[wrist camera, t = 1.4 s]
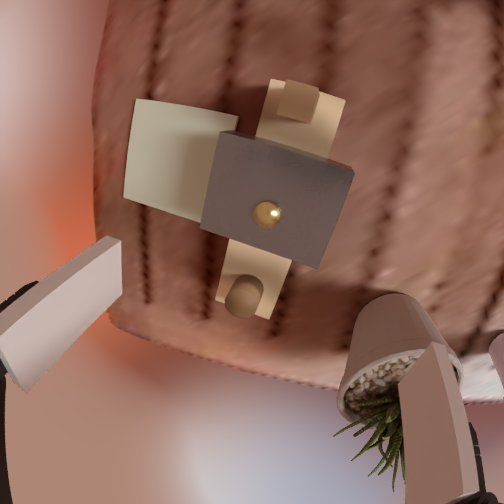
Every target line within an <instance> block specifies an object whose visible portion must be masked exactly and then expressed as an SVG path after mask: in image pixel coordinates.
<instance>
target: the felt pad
mask: <svg viewBox="0 0 504 504" xmlns="http://www.w3.org/2000/svg"><path fill="white" fill-rule="evenodd" d="M238 120H239V116H235V115H231V114H227V113H222V112H217V111H213V110H208V109H203V108H197V107H192V106H186V105H180V104H174V103H168V102H161V101H153V100H146V99H136V103H135V108H134V114H133V120H132V126H131V133H130V139H129V147H128V155H127V163H126V173H125V183H124V196H123V197H124V198H127V199H130V200H133V201H136V202H139V203H142V204H145V205H148V206H151V207H154V208H157V209H160V210H163V211H166V212H169V213H172V214H175V215H178V216H181V217H184V218H187V219H190V220H193V221H196V222H199V223H201V217H202V212H203V207H204V202H205V197H206V192H207V187H208V182H209V177H210V173H211V168H212V163H213V159H214V154H215V150H216V145H217V141H218V137H219V132H220V131H228V130H234V131H236V128H237V124H238Z"/></svg>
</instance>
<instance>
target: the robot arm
mask: <svg viewBox="0 0 504 504" xmlns="http://www.w3.org/2000/svg"><path fill="white" fill-rule="evenodd" d="M121 295H122V272H121V240H118V239H115V238H113V237H110V236H108V235H107V236H105V237H104V238H102V239H101V240H99V241H98V242H96V243H95V244H93V245H92V246H90V247H89V248H87V249H85V250H84V251H83V252H81V253H80V254H78V255H77V256H75V257H74V258H72V259H71V260H69V261H68V262H66V263H65V264H64V265H62V266H61V267H59V268H58V269H57V270H55V271H54V272H52V273H51V274H50V275H48V276H47V277H46V278H44V279H43V280H42V281H40V282H38V281H35V282H32V283H29V284H27V285H25V286H23V287H22V288H21V289H19V290H18V291H17V292H15V295H14V294H13V295H12V296H10V297H9V298H8V300H7V301H6V300H5V301H4V302H3V303H1V304H0V504H13V503H12V498H11V492H10V485H9V479H8V470H7V461H6V448H5V390H6V378H5V374H6V373H7V372H8V373H9V375H10V377H11V378H12V380H13V382H14V383H15V384H17V385H18V386H19V387H20V388H21V389H22V390H23V391H24V392H25V393H28V392H29V391H30V390H31V388H32V387H33V386H34V385H35V384H36V383H37V382H38V381H39V379H40V378H41V377H42V376H43V375H44V374H45V372H47V371H48V369H49V368H50V367H51V366H52V365H53V364H54V363H55V362H56V361H57V360H58V359H59V357H60V356H61V355H62V354H63V353H64V352H65V351H66V350H67V349H68V348H69V347H70V346H71V345H72V344H73V343H74V342H75V341H76V339H78V337H79V336H80V335H81V334H82V333H83V332H84V331H85V330H86V329H87V328H88V327H89V326H90V325H91V324H92V323H93V322H94V321H95V320H96V319H97V318H98V317H99V316H100V315H101V314H102V313H103V312H104V311H105V310H106V309H107V308H108V307H109V306H110V305H111V304H112V303H113V302H114V301H115V300H116V299H117V298H118V297H120V296H121ZM398 390H399V397H400V406H401V415H402V426H403V438H404V455H405V504H502V503H498V500H497V498H496V496H495V495H494V494H493V493H491V492H486V489H485V481H484V473H483V467H482V461H481V456H480V449H479V447H478V439H477V434H476V432H475V430H474V428H473V426H472V424H471V422H468V421H467V416H466V412H465V408H464V404H463V400H462V397H461V393H460V390H459V386H458V383H457V380H456V376H455V373H454V370H453V367H452V364H451V361H450V358H449V355H448V352H447V350H446V347H445V345H442V344H439V343H435V342H431V343H430V345H429V346H428V347H427V349H426V350H425V351H424V353H423V354H422V355H421V357H420V358H419V359H418V360H417V362H416V363H415V364H414V365H413V367H412V368H411V369H410V370H409V371H408V373H407V374H406V375H405V376H404V377H403V379H402V380H401V381H400V382H399V383H398Z"/></svg>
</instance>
